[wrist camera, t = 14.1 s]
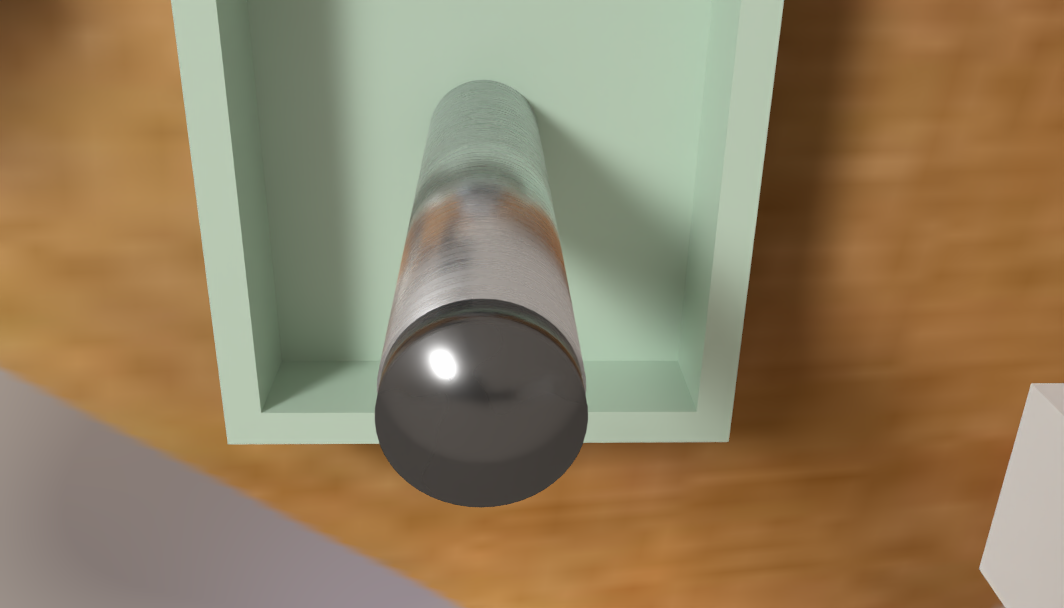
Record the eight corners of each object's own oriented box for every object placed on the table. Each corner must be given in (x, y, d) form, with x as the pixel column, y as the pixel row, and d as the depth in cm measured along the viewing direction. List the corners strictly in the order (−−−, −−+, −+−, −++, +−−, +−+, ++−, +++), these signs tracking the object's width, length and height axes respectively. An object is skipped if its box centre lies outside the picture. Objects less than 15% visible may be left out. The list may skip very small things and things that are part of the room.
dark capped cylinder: (427, 78, 26) (366, 320, 13) (540, 80, 26) (597, 320, 13) (429, 186, 27) (375, 511, 14) (537, 187, 27) (587, 509, 14)
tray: (196, -199, 24) (144, -208, 20) (760, -184, 25) (807, -191, 21) (258, 374, 31) (228, 444, 27) (700, 373, 31) (728, 441, 28)
